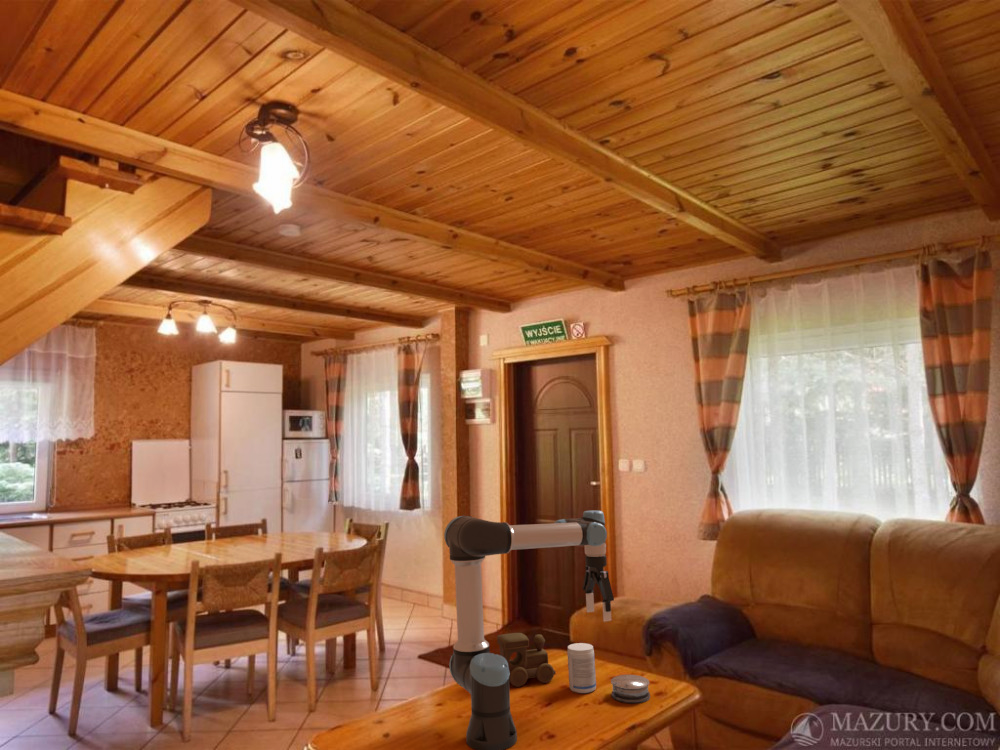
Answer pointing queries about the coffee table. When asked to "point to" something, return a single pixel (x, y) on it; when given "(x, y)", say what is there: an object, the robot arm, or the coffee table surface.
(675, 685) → the coffee table surface
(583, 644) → the supplement tub
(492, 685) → the robot arm
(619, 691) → the duct stub
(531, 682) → the coffee table surface
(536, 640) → the wooden toy train
